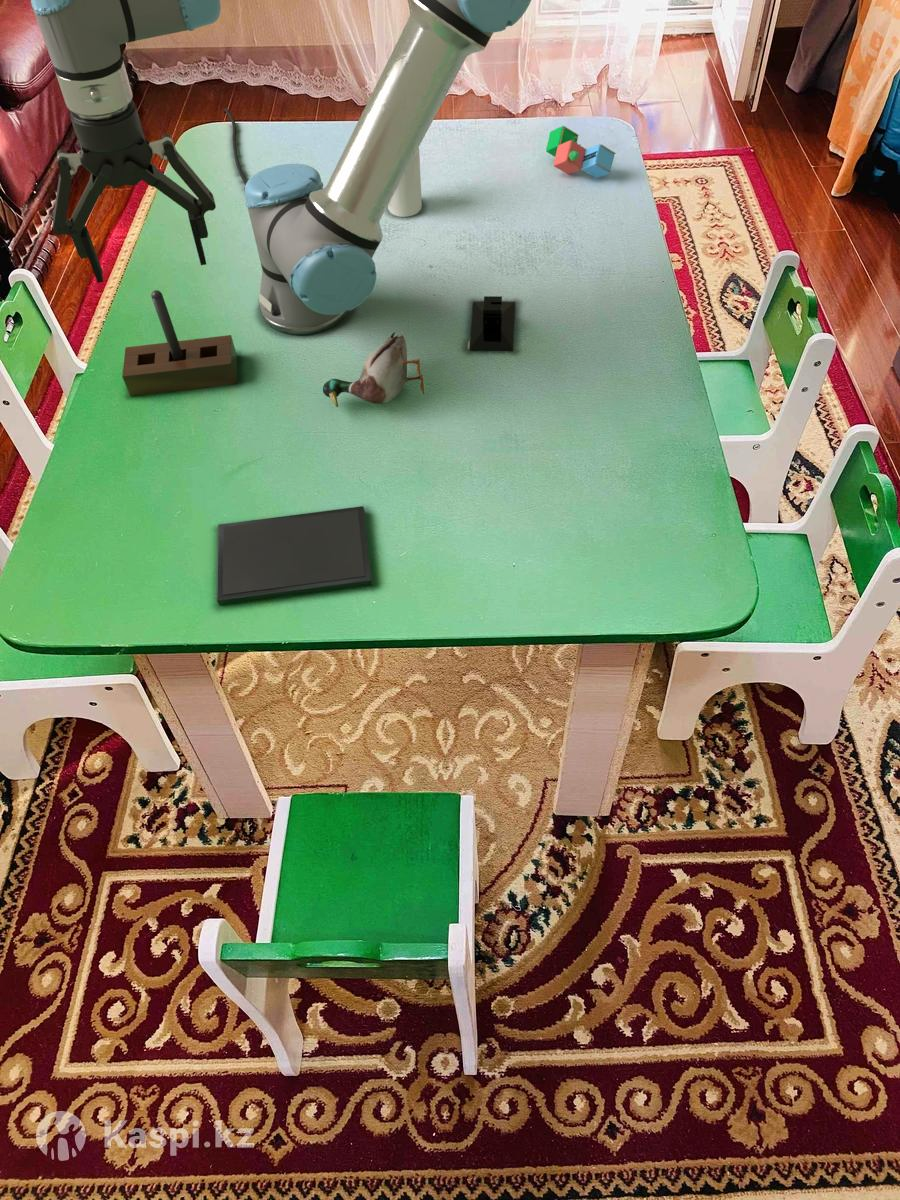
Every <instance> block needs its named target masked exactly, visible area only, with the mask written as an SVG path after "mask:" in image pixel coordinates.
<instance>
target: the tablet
mask: <svg viewBox="0 0 900 1200" xmlns="http://www.w3.org/2000/svg"><path fill="white" fill-rule="evenodd" d="M365 513H366V512H365V506H363V505H362V506H354V507H346V508H338V509H337V508H336V509H331V510H322V511H313V512H307V513H297V514H289V515H283V516H274V517H268V518H258V519H252V520H244V521H236V522H227V523H219V524H217V563H216V564H217V565H216V567H217V569H216V577H217V578H216V602H217V605H218V606H227V605H232V604H233V605H234V604H241V603H242V604H243V603H248V602H249V603H250V602H258V601H263V600H272V599H279V598H289V597H294V596H302V595H303V596H304V595H311V594H317V593H325V592H332V591H341V590H347V589H355V588H363V587H364V588H365V587H370V586H373V578H372V567H371V559H370V550H369V549H370V548H369V540H368V532H367V522H366V514H365Z"/></svg>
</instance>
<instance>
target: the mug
mask: <svg viewBox="0 0 900 1200" xmlns="http://www.w3.org/2000/svg"><path fill="white" fill-rule="evenodd" d="M420 155H421V154H420V147H419V148H418V149H417V151H416V153H415V155H414V157H413V159H412V161H411V163H410V165H409V166H408V168H407V170H406V172H405V174H404V176H403V178H402V180H401V181H400V183H399V185H398V187H397V189H396V191H395V193H394V195H393V197H392V198H391V200H390V202H389V204H388V206H387V208H388V212H389V213H390V214H391V215H393V216H396V217H399V218H400V217H401V218H407V217H412V216H415V215H417V214H418V213H419V212H420V211H421V210H422V207H423V206H422V205H423V204H422V203H423V202H422V181H421V180H422V179H421V159H420V158H421V157H420Z"/></svg>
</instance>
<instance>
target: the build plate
mask: <svg viewBox="0 0 900 1200" xmlns="http://www.w3.org/2000/svg"><path fill="white" fill-rule="evenodd" d="M515 313H516V301H503V296H501V295H498V296H497V295H484V296H483V300H481V301H480V300H474V301H472V310H471V322H470V336H469V340H468V342H467V349H468V351H469V352H499V353H500V352H504V353H505V352H507V353H508V352H511V353H512V352H514V343H515V319H516V318H515V317H516V314H515Z"/></svg>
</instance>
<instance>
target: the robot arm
mask: <svg viewBox="0 0 900 1200" xmlns="http://www.w3.org/2000/svg"><path fill="white" fill-rule="evenodd" d="M531 2H532V0H407V4H408V8H409V17H408V20H407V21H406V23H405V25H404V27H403V29H402V30H401V31H402V32H401V34H400V36H399V37H398V39H397V41H396V43H395V45H394V48H393V50H392V51H391V54H390V56H389V58H388V60H387V62H386V64H385V65H384V68H383V70H382V72H381V74H380V76H379V78H378V80H377V82H376V84H375V86H374V88H373V91H372V93H371V95H370V97H369V98H368V101H367V103H366V105H365V107H364V109H363V111H362V113H361V115H360V117H359V118H358V121H357V123H356V125H355V127H354V128H353V131H352V133H351V135H350V137H349V139H348V142H347V143H346V145H345V146H344V149H343V151H342V154H341V156H340V157H339V160H338V161H337V163H336V166H335V168H334V169H333V172H332V174H331V175H330V178H329V180H328V182H327V184H326V186H325V187H324V182H323V181H322V178H321V175H320V173H319V171H318V170H317V169H315V168H314V167H313V166H310V165H307V164H301V163H283V164H277V165H273V166H270V167H267V168H265V169H262V170H260V171H258V172H256V173H254V174H253V175H252V177H250V178H249V179H248V180H247V178H246V176H245V174H244V171H243V169H242V166H241V162H240V159H239V155H238V147H237V124H236V121H235V118H234V117H233V115H232V113H231V111H230V110H229V109H228V108H224V109H223V113H224V114H226V115H227V116H228V118H229V120H230V122H231V125H232V148H233V149H232V150H233V156H234V161H235V166H236V169H237V171H238V173H239V176H240V178H241V180H242V182H243V184H244V196H245V207H246V208H247V210H248V215H249V219H250V223H251V229H252V232H253V236H254V241H255V245H256V248H257V254H258V257H259V261H260V267H261V270H262V271H261V279H260V289H259V293H258V294H259V296H258V303H259V305H258V306H259V310H260V314H261V317H262V319H263V321H264V322H265V324H266V325H267V326H268V327H270V328H271V329H274V330H276V331H278V332H280V333H283V334H287V335H288V334H289V335H312V334H316V333H320V332H323V331H326V330H328V329H330V328H333V327H335V326H336V325H338V324H339V323H340V322H341V321H343V320H344V319H345V318H346V317H347V315H348V314H349V312H350V311H353V310H354V309H356V308H358V307H359V306H361V305H362V304H364V302H365V301H366V300H367V299H368V297H369V296H371V294H372V292H373V290H374V288H375V285H376V281H377V271H376V263H375V261H374V260H373V257H374V255H375V253H376V251H377V249H378V248H379V246H380V244H381V242H382V240H383V238H384V234H383V231H382V227H381V223H380V221H381V220H382V217H383V216H384V214H385V211H386V210H387V208H388V204H389V202H390V200H391V198H392V197H393V195H394V193H395V191H396V189H397V187H398V185H399V183H400V181H401V180H402V178H403V176H404V174H405V172H406V170H407V168H408V166H409V165H410V163H411V161H412V159H413V157H414V155H415V153H416V151H417V149H418V148H419V149H420V146H421V144H422V142H423V140H424V138H425V137H426V134H427V133H428V131H429V129H430V128H431V125H432V123H433V121H434V120H435V118H436V117H437V114H438V112H439V110H440V108H441V106H442V104H443V102H444V101H445V99H446V97H447V95H448V93H449V91H450V90H451V87H452V85H453V84H454V82H455V80H456V78H457V76H458V74H459V72H460V70H461V68H462V67H463V65H464V63H465V61H466V59H467V57H468V56H470V55H472V54H475V53H478V52H482V51H484V50H485V49H486V47H487V45H488V43H489V42H490V40H491V39H492V36H493V34H494V33H500V32H503V31H505V30H506V29H507V27H513V26H514V25H515V24H516V23H518V22H519V21H520V20H521V18H522V17H523V16H524V14H525V13H526V11H527V10H528V9H529V6H530V4H531ZM30 5H31V7H32V9H33V13H34V15H35V18H36V21H37V24H38V26H39V30H40V32H41V35H42V38H43V41H44V44H45V47H46V50H47V52H48V55H49V58H50V61H51V63H52V66H53V69H54V73H55V76H56V79H57V82H58V85H59V88H60V90H61V94H62V97H63V100H64V103H65V106H66V108H67V109H68V111H70V112H69V117H70V120H71V123H72V127H73V129H74V132H75V135H76V138H77V141H78V144H79V146H80V152H75V153H74V152H73V153H68V152H67V151H66V150H65V149H58V150H57V151H56V160H57V161H56V162H57V163H56V164H57V167H58V172H59V174H58V180H57V181H58V182H57V187H56V195H55V201H54V208H53V215H52V232H53V234H54V235H56V236H62V235H67V236H69V238H71V239H72V242H73V245H74V248H75V251H76V252H77V255H78V257H79V258H80V259H81V260H82V259H88V261H89V263H90V267H91V269H92V271H93V274H94V277H95V279H96V280H95V281H96V283H97V284H101V283H104V274H103V273H104V272H103V269H102V266H101V263H100V260H99V257H98V254H97V252H96V249H95V246H94V242H93V240H92V237H91V235H90V232H89V230H88V227H87V225H86V224H87V221H88V220H89V218H90V216H91V214H92V212H93V209H95V206H96V204H97V202H98V200H99V197H100V196H102V194H103V192H104V190H105V189H106V187H107V186H108V187H112V189H119V188H122V187H125V186H137V185H138V186H139V184H140V183H141V182H142V181H143V182H144V183H146V184H147V185H149V186H150V187H151V188H155V189H156V190H158V191H159V192H161V193H162V194H163V195H164V196H166V197H168V199H170V200H172V201H173V202H174V203H175V204H177V205H178V206H180V207H181V208H183V209H184V210H185V211H187V216H188V222H189V225H190V229H191V232H192V236H193V240H194V244H195V248H196V252H197V256H198V259H199V263H200V266H205V265H207V260H206V256H205V250H204V247H203V242H202V239H207V238H208V236H209V231H208V228H207V223H206V219H205V214H206V213H207V212H209V211H212V212H213V211H215V210H216V206H217V205H216V201H215V196H214V194H213V193H212V192H211V190H210V189H209V188H208V186H207V185H205V183H204V182H203V181H202V180H201V178H200V177H199V175H197V174H196V172H195V171H194V170H193V169H192V167H191V166H190V165H189V164H188V162H187V161H186V160H185V159H184V158H183V157H182V155H181V154H180V153H179V152H178V151H177V148H176V145H175V143H174V139H173V137H172V136H171V134H168V133H164V134H162V136H161V139H158V140H155V141H148V140H147V138H146V136H145V134H144V133H145V132H144V130H143V127H142V122H141V119H140V116H139V113H138V108H137V105H136V102H134V100H133V97H134V94H133V90H132V86H131V83H130V80H129V76H128V72H127V68H126V65H125V62H124V59H123V56H122V53H121V47H120V45H123V44H129V43H133V42H134V43H135V42H138V41H141V40H146V39H152V38H156V37H162V36H167V35H172V34H176V33H180V32H187V31H189V32H192V31H194V30H196V29H199V28H202V27H205V26H208V25H212V24H214V23H216V22H217V21H218V20H219V18H220V16H221V15H220V14H221V10H222V9H221V7H222V6H221V0H30ZM154 155H157V156H159V158H160V159H162V160H164V161H168V164H169V165H170V167H171V168H172V170H174V171H175V173H176V174H177V175H178V176H179V178H180V179H181V180H182V181H183V182H184V184H185V185H186V186H187V187H188V188H189V189H190V190H191V192H192V193H193V194H194V195H195V196H196V197H195V196H194V195H192V194H191V193H190V192H189V191H188V190H186V189H185V188H184V187H182V186H181V185H179V184H178V183H177V182H175V181H174V180H173V179H171V178H170V177H169V176H168V175H166V174H165V173H163V171H161V170H159V169H158V167H157V166H156V165H155V164H153V163H152V159H153V157H154ZM80 166H82V167H83V168H84V169H85V170H87V171H88V172H89V173H90V176H89V180H88V182H87V183H86V186H85V188H84V190H83V192H82V194H81V196H80V198H79V200H78V201H77V205H76V206H75V209H74V210H73V212H72V214H71V217H69V218H68V219H67V213H68V207H69V206H68V205H69V201H70V195H71V194H70V193H71V189H72V176H73V175H76V174H77V172H78V169H79V167H80Z"/></svg>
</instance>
